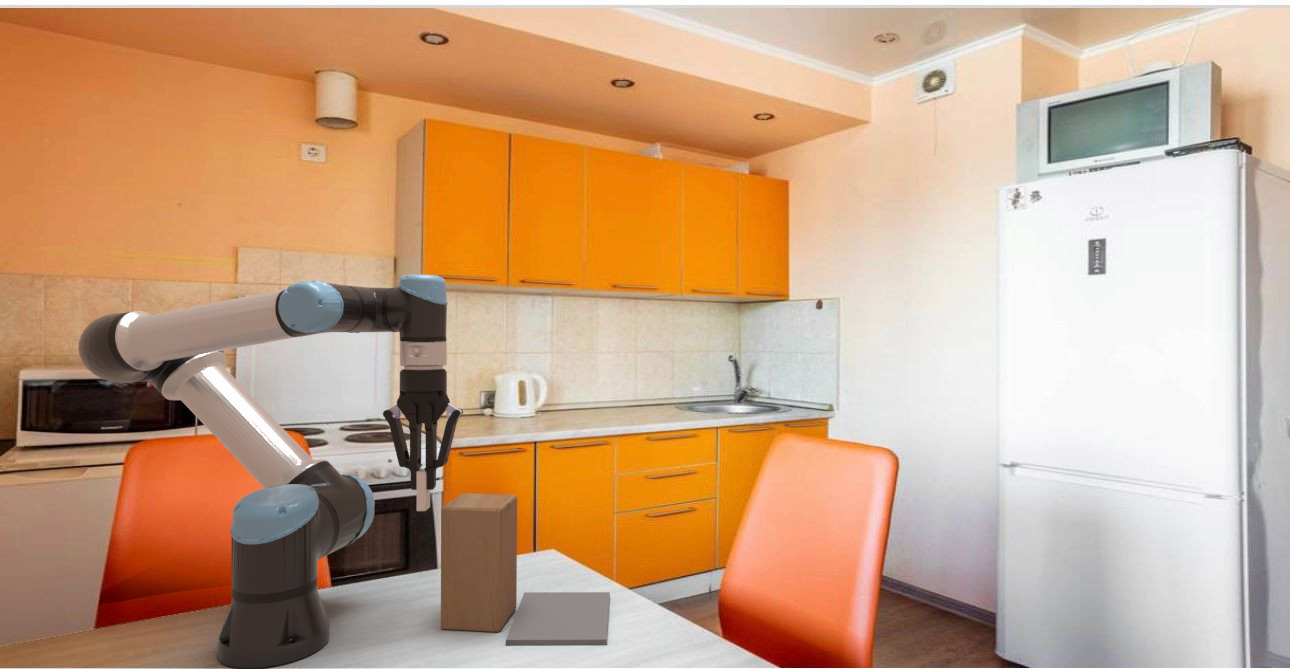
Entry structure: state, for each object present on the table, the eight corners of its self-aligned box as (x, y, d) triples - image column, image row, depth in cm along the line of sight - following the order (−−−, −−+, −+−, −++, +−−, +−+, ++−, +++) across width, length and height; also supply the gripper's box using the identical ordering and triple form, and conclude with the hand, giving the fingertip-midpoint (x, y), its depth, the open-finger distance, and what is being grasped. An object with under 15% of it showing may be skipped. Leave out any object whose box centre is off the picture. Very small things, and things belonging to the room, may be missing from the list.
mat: (505, 645, 110) (505, 639, 110) (524, 596, 130) (524, 592, 130) (606, 644, 111) (606, 639, 111) (609, 596, 131) (609, 592, 131)
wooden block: (517, 609, 125) (517, 494, 125) (499, 633, 115) (500, 508, 115) (461, 606, 126) (462, 492, 125) (439, 630, 116) (440, 506, 116)
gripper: (376, 369, 116) (376, 515, 116) (457, 369, 116) (457, 514, 116) (391, 366, 123) (391, 503, 123) (467, 366, 124) (467, 503, 124)
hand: (423, 508), depth 120 cm, fingers closed
